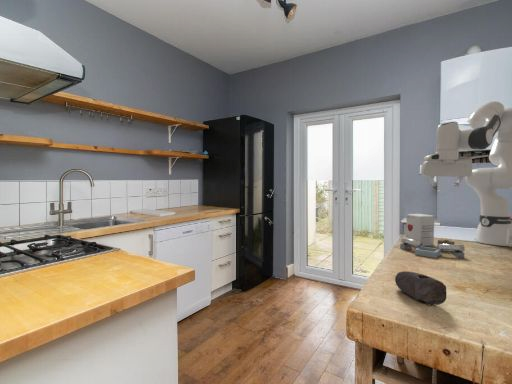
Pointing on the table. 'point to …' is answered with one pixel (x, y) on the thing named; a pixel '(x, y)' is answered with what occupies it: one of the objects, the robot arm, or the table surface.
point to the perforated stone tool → (421, 287)
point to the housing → (427, 252)
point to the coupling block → (446, 242)
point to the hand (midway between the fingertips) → (445, 186)
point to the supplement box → (420, 228)
